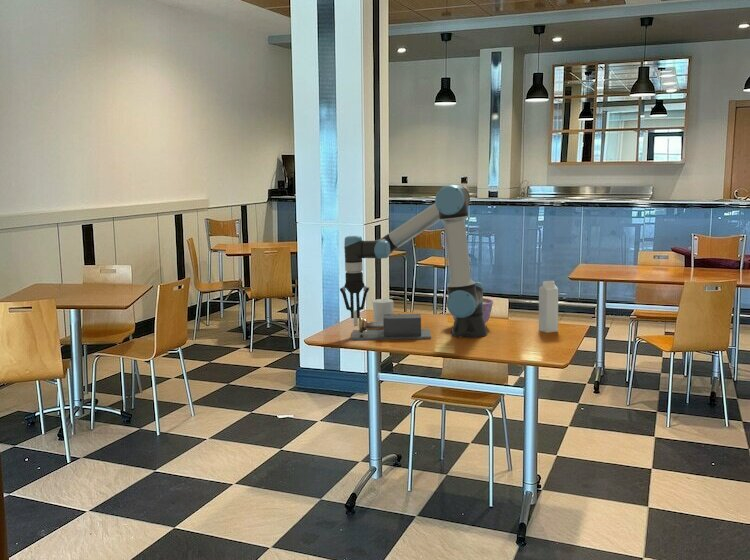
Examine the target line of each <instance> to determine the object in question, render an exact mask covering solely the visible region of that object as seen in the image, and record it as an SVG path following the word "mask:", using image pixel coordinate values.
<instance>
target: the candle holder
mask: <svg viewBox="0 0 750 560" xmlns="http://www.w3.org/2000/svg"><path fill="white" fill-rule="evenodd" d="M371 302H372V303H371V304H372V313H373V322H377V321H383V318H384V314H394V300H393V299H392V298H391V299H389V298H378V299H373V300H372V301H371Z"/></svg>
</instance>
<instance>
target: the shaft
mask: <svg viewBox="0 0 750 560" xmlns="http://www.w3.org/2000/svg"><path fill="white" fill-rule="evenodd" d="M372 329H384V322H383V321H377V322H374V321H367V318H364V317H360V318H358V330H359V332H360V333H363V331H367V330H372Z"/></svg>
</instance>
